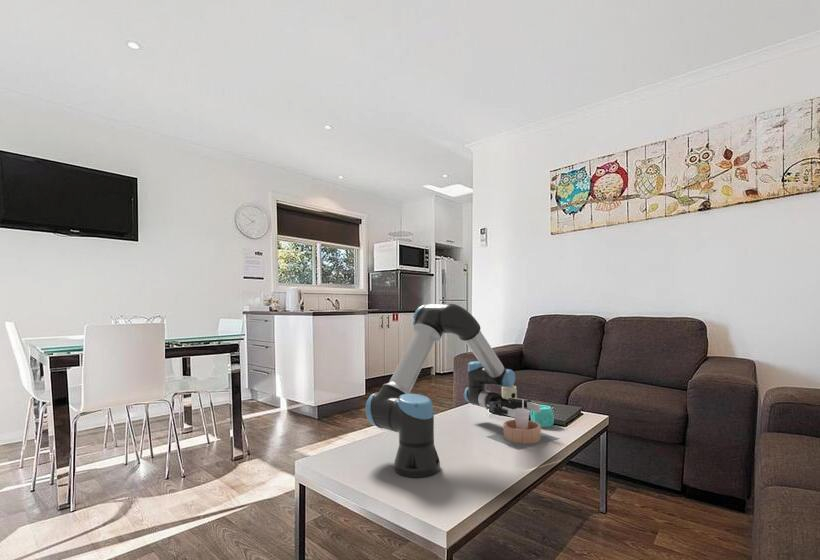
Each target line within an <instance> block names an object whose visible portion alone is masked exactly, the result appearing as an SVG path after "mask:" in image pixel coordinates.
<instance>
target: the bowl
mask: <svg viewBox="0 0 820 560" xmlns="http://www.w3.org/2000/svg"><path fill="white" fill-rule="evenodd" d="M502 428H503V429H502V430H503V432H504V438H505V439H506V440H508V441H511V442H515V443H523V444H528V443H536V442H539V441H540V440H541V432H542V427H541V425H540V424H539V423H537V422H534V421H531V420H528V429H516V422H515V419H511V420H506V421H504V422H503V427H502Z"/></svg>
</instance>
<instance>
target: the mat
mask: <svg viewBox="0 0 820 560" xmlns="http://www.w3.org/2000/svg"><path fill="white" fill-rule="evenodd" d="M485 437H486V438H488V439H491V440H494V441H496V442H498V443H500V444H504V445H506V446H508V447H510V448H513V449H516V450H517V451H520V450H523V449H526V448H527V449H528V448H531V447H535V446H538V445H543V444H544V443H545V444H546V443H549V442H553V441H557V440H560V438H559V437H556V436H553V435H550V434H547V433H544V432H542V431H541V440H540V441H539V442H536V443H528V444H523V443H515V442H511V441H508V440H506V439H505V438H504V431H503V432H499V433H495V434H491V435H486V436H485Z"/></svg>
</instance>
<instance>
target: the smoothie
mask: <svg viewBox="0 0 820 560" xmlns="http://www.w3.org/2000/svg"><path fill="white" fill-rule="evenodd" d="M521 400H522V408H521V407H516V409H514V410H515V417H514V420H515V422H516V429H528V420H529V419H530V415H531V414H530V411H531V410H530V409H527V408H524V400H525V399H523V398H522V399H521ZM529 421H530V420H529Z"/></svg>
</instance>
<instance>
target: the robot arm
mask: <svg viewBox="0 0 820 560" xmlns="http://www.w3.org/2000/svg"><path fill="white" fill-rule="evenodd" d="M412 323H413V331H414V334H413V336H412V338H411V340H410V341H409V343H408V345H407V347H406V349H405V351H404V353H403V355H402V356H401V358H400V360H399V363H398V364H397V366H396V368H395V370H394V372H393V374H392V376H391V378H390V379H389V381H388V382H387V383H384V384H383V385H382V386H381V387H380V390H379V392H378V391H377V392H374V393H371V395H369V397H368V398H367V400H366V403H365V414H366V415H365V417H366V418H367V421H368V422H369V424H371V425H373V426H375V427H377V428H378V429H381V430H382V429H384V430H388V431H392V432H394V433H398V442H399V443H398V448H397V451H396V456H395V459H394V462H393V463H394V468H393V469H394V472H395V473H397V474H398V473H399V474H398V475H400V476H402V475H403V477H408V478H425V477H426V478H427V477H430V476H433V475H436V474H437V473H438V472H439V471H440V469H441V462H440V458H439V454H438V451H437V449H436V446H435V433H434V432H435V430H434V429H435V428H434V427H435V426H434V425H435V424H434V423H435V421H434V420H435V419H434V416H435V415H434V413H435V411H434V405H433V401H432V400H431V398H430V397H428V396H426V395H424V394H423V395H422V394H418V393H411V391H412V389H413V387H414V385H415V383H416V381H417V379H418V376H419V374H420V372H421V370H422V368H423V367H424V364H425V362H426V360H427V358H428V356H429V354H430V352H431V350H432V348H433V346H434V344H435V343H436V342H440V340H441V338H442V337H443V334H453V335H456V336H457V337H458V339H460V340H461V341H463V342H464V343H465V344H466V345H467V347H468V348H469V349H470V350H471V352H472V353H473V355H474V357H476V359H477V360H476V361H475V360H473V361H469V362H468V363H467V384H468V386H467V387H466V388H465V389H464V392H463V398H464V400H465V401H466V402H467V403H469V404H471V405H473V406H478V407H480V408H481V407H482V408H484V409H486V410H490V412H492V414H494V415H497V414H498V416H502V415H505V416H508V417H511V418H515V410H513V409H510V408H512V407H516V408H522V399H519V398H517V399H513V398H509V399H506V398H502V394H500V393H498V392H494V391H491V390H486V388H485V387H486V385H487V386H488V385H490V386H496V387H497V386H498V387H501V388H502V387H511V386H514V384H515V382H516V374H515V371H513V369H509V368H505V366H504V365H503V363H502V361H501V360H500V358H499V357H498V355H497V354H496V352H495V351H494V350H493V348H492V346H491V345H490V343H489V342H488V340H487V339H486V337H485V335H484V334H483V333H482V331H481V325H480V323H479V322H478V320H477V319H476V318H475V317H474V316H473V315H472V314H471V312H469V311H468V310H467V309H465V308H464V307H462V306H460V305H458V304H457V303H427V304H422V305H421V306H418V308H417V309H416V310H415V312H414V314H413V322H412ZM509 404H511V406H509ZM540 405H541V404H538V403H536V402H535V403H534V402H532V400H530V399H524V409H528V410H530V411H531V410H533V411H537V412H540Z"/></svg>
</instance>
